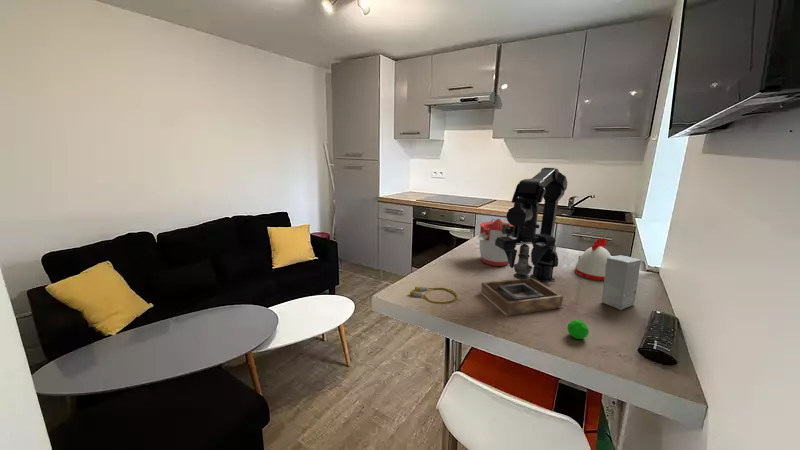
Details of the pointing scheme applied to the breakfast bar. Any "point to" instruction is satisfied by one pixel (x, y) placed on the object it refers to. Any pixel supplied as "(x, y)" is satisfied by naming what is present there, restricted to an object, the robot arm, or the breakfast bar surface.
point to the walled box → (521, 306)
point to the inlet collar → (509, 290)
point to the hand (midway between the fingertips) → (522, 266)
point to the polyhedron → (577, 329)
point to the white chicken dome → (593, 261)
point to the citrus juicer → (492, 243)
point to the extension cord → (419, 289)
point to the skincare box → (620, 281)
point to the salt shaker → (523, 264)
